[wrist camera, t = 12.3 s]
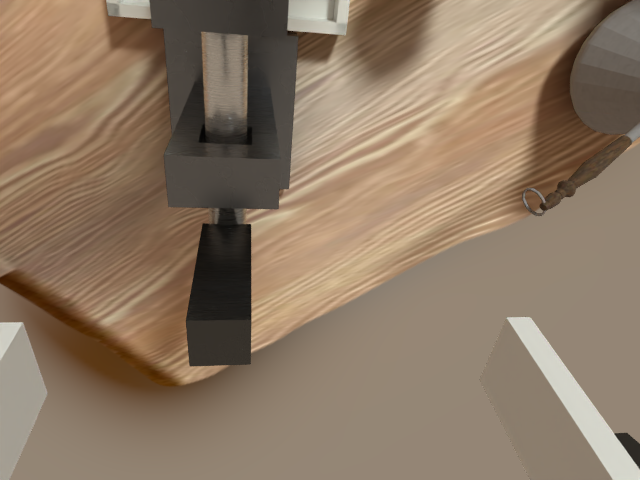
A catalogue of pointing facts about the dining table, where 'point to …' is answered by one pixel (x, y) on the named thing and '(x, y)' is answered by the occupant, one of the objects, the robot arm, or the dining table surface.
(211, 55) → the shaft
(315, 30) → the tray
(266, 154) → the shaft stand
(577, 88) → the coffee pot
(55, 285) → the dining table surface
